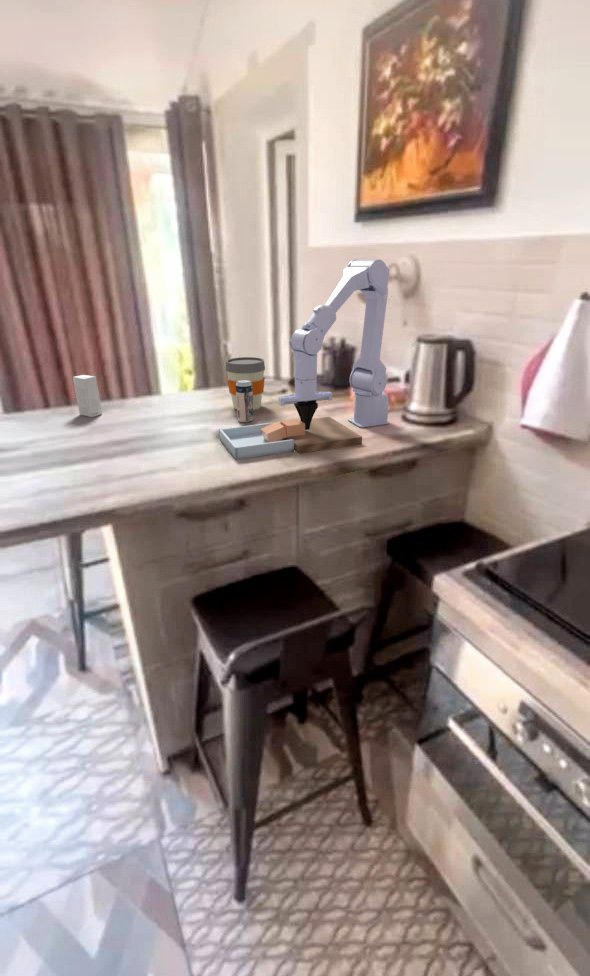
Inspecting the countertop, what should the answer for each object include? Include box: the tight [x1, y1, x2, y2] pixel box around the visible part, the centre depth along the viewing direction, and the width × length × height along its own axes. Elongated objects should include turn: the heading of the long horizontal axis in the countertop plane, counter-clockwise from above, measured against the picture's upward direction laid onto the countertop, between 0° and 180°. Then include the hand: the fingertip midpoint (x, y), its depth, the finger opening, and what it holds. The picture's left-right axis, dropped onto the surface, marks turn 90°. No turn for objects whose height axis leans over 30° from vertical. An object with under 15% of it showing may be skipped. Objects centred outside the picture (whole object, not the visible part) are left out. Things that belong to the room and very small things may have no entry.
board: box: [279, 416, 363, 454], centre depth 139 cm, size 18×20×2 cm
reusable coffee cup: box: [225, 356, 266, 411], centre depth 165 cm, size 13×13×15 cm
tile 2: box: [280, 418, 305, 437], centre depth 136 cm, size 5×5×3 cm
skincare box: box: [72, 374, 103, 418], centre depth 159 cm, size 6×4×12 cm
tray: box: [218, 422, 295, 460], centre depth 134 cm, size 15×16×3 cm
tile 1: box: [261, 421, 287, 443], centre depth 135 cm, size 5×5×3 cm
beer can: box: [236, 380, 255, 423], centre depth 152 cm, size 5×5×12 cm
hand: (305, 428), depth 138 cm, fingers closed
